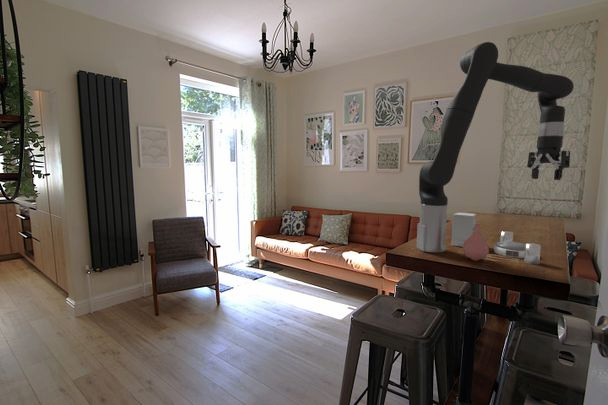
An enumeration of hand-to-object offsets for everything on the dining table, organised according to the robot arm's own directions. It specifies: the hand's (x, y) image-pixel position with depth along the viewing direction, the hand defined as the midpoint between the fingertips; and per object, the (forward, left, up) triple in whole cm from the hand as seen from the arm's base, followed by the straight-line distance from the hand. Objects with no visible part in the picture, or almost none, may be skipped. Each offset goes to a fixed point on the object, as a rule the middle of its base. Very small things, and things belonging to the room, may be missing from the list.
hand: (545, 179), depth 118 cm
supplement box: (-27, +6, -27) cm, 38 cm away
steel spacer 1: (-12, +2, -27) cm, 29 cm away
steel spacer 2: (-17, -17, -27) cm, 36 cm away
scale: (-16, -7, -27) cm, 32 cm away
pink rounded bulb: (-34, -14, -27) cm, 45 cm away
